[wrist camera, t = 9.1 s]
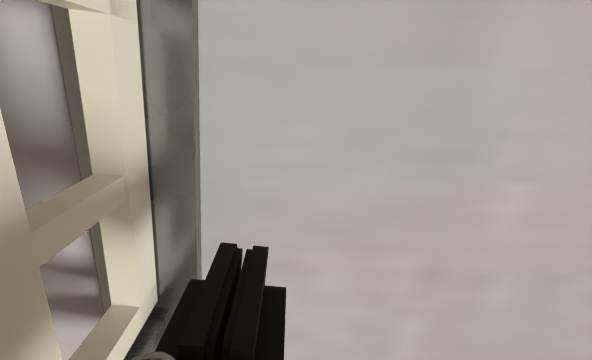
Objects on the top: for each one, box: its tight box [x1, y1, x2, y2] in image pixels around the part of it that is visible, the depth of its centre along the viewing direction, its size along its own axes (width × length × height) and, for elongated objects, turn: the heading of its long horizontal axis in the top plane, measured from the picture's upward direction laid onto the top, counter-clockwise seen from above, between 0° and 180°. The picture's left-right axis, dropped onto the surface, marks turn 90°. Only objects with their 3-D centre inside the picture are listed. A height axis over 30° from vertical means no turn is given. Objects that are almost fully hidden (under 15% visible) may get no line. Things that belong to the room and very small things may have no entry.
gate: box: [0, 0, 158, 360], centre depth 10 cm, size 17×2×10 cm, turn 173°
